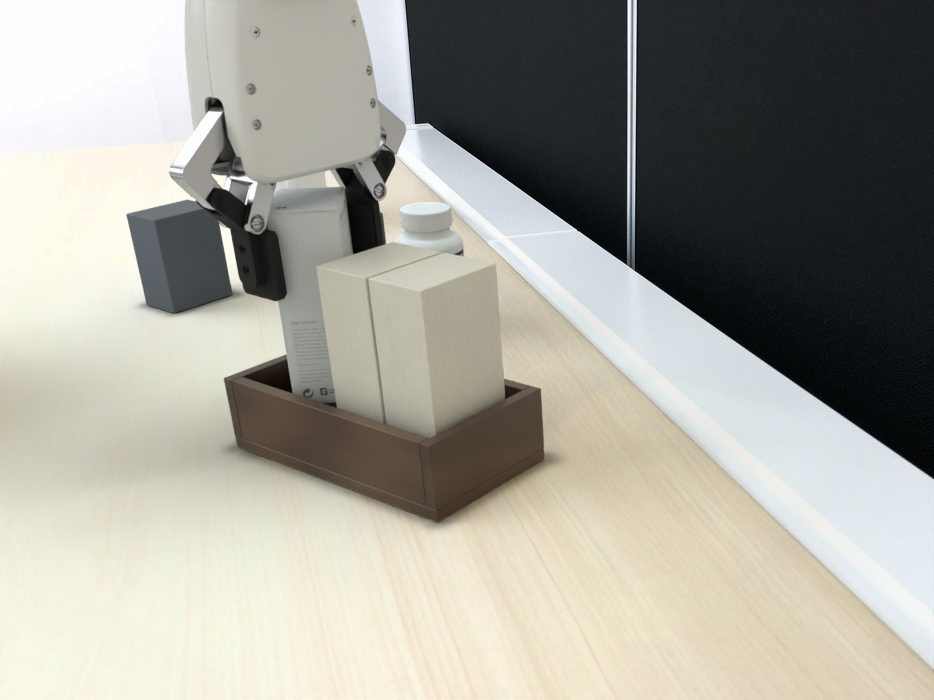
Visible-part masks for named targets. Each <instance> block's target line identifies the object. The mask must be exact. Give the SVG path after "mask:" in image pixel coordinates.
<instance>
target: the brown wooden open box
mask: <svg viewBox="0 0 934 700" xmlns="http://www.w3.org/2000/svg"><path fill="white" fill-rule="evenodd" d="M223 383H224V387H225V392H226V397H227V398H226V399H227V402H228V408H229V413H230V417H231V423H232V428H233V432H234V436H235V442H236V447H237V448H240V449H241V450H243V451H247V452H249V453H252V454H255V455H258V456H260V457H263V458H266V459H268V460H271V461H273V462H276V463H279V464H281V465H284V466H287V467H290V468H292V469H295V470H298V471H300V472H303V473H305V474H308V475H311V476H313V477H316V478H319V479H321V480H323V481H327V482H329V483H332V484H334V485H337V486H340V487H342V488H345V489H348V490H351V491H353V492H356V493H358V494H361V495H363V496H366V497H369V498H371V499H374V500H377V501H380V502H382V503H385V504H388V505H390V506H393V507H396V508H398V509H401V510H403V511H406V512H409V513H411V514H414V515H417V516H420V517H421V518H424V519H427V520H429V521H432V522H435V523H439V522H442V521H443V520H445V519H446V518H448V517H450V516H452V515H453V514H455V513H457V512H458V511H460V510H461V509H463V508H465V507H467V506H468V505H470V504H471V503H473V502H475V501H476V500H478V499H480V498H482V497H483V496H485V495H487V494H488V493H491V492H492V491H493V490H495V489H497V488H498V487H501V486H502V485H504V484H505V483H507V482H508V481H510V480H513V478H515V477H517V476H519V475H520V474H522V473H524V472H526V471H527V470H528V469H531V468H532V467H534V466H535V465H537V464H539V463H540V462H542V461H544V460H545V459H546V458H545V457H546V456H545V438H544V418H543V401H542V400H543V399H542V389H541V388H540V387H537V386H533V385H529V384H526V383H521V382H519V381H515V380H511V379H508V378H504V386H505V400H503V401H501V402H499V403H497V404H495V405H493V406H491V407H489V408H487V409H485V410H483V411H481V412H479V413H477V414H475V415H473V416H471V417H469V418H468V419H466V420H464V421H462V422H460V423H458V424H456V425H454V426H452V427H450V428H448V429H446V430H444V431H442V432H440V433H438V434H436V435H434V436H432V437H430V438H427V437H424V436H421V435H418V434H415V433H412V432H409V431H406V430H403V429H400V428H397V427H394V426H391V425H388V424H385V423H382V422H378V421H375V420H372V419H369V418H366V417H363V416H360V415H357V414H354V413H351V412H348V411H345V410H342V409H339V408H337V405H336V403H320V402H317V401H314V400H311V399H308V398H305V397H302V396H299V395H296V394H293V391H292V385H291V379H290V373H289V367H288V361H287V354H286V353H285V354H283V355H280V356H278V357H276V358H273V359H270V360H267V361H264V362H262V363H260V364H256V365H254V366H252V367H249V368H247V369H244V370H241V371H238V372H235V373H234V374H231V375H227V376H225V377H223Z"/></svg>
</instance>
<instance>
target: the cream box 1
mask: <svg viewBox="0 0 934 700" xmlns="http://www.w3.org/2000/svg"><path fill="white" fill-rule="evenodd" d="M439 254H441V252H439V251H434V250H429V249H424V248H419V247H415V246H410V245H405V244H400V243H395V241H391V242H389V243H386V244H385V245H382V246H379V247H375V248H372V249H369V250H366V251H363V252H360V253H356V254H353V255H350V256H347V257H344V258H341V259H338V260H334V261H331V262H328V263H325V264H322V265H319V266H316V270H317V277H318V283H319V290H320V297H321V304H322V310H323V317H324V324H325V331H326V337H327V344H328V351H329V357H330V364H331V371H332V378H333V384H334V391H335V398H336V405H337V408H339V409H342V410H345V411H348V412H351V413H354V414H357V415H360V416H363V417H366V418H369V419H372V420H375V421H378V422H382V423H385V424H387V423H386V415H385V407H384V400H383V392H382V384H381V376H380V368H379V360H378V352H377V344H376V336H375V328H374V321H373V313H372V305H371V297H370V289H369V281H368V279H369V278H371V277H374V276H377V275H380V274H383V273H386V272H389V271H392V270H395V269H398V268H401V267H404V266H407V265H409V264H412V263H415V262H418V261H421V260H424V259H427V258H430V257H433V256H436V255H439Z"/></svg>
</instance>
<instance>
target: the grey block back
mask: <svg viewBox="0 0 934 700" xmlns="http://www.w3.org/2000/svg"><path fill="white" fill-rule="evenodd" d="M125 215H126V221H127V224H128V228H129V233H130V238H131V242H132V247H133V251H134V256H135V259H136V263H137V267H138V268H137V269H138V272H139V279H140V282H141V286H142V291H143V294H144V298H145V305H146V306H148V307H152V308H156V309H159V310H162V311H164V312H165V311H166V312H169V313H173V314H176V313H180V312H183V311H186V310H189V309H192V308H195V307H198V306H202V305H205V304H208V303H211V302H214V301H218V300H221V299H224V298H227V297H229V296H233V291H232V290H233V289H232V284H231V279H230V273H229V267H228V263H227V257H226V253H225V252H226V251H225V246H224V241H223V235H222V231H221V225H220V224H219V222H218V220H217V219H216V218H215V217H213V216H212V215H211V214H209V213H208V212H207V211H205V210H204V209H203V208H202V207H200V206H199V205H198V204H197V202H196V200H191V199H184V200H179V201H175V202H171V203H166V204H162V205H158V206H153V207H149V208H145V209H141V210H137V211H132V212H128V213H126V214H125Z"/></svg>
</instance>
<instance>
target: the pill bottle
mask: <svg viewBox="0 0 934 700" xmlns="http://www.w3.org/2000/svg"><path fill="white" fill-rule="evenodd" d="M399 219H400V220H399V221H400V227H401V229H403V230H404V232H403V233H401V234H399V235H398V236H397V237H396V239H395V241H394V242H395V243H400V244H405V245H410V246H415V247H419V248H424V249H429V250H434V251H439V252H441V254H442V253H449V254H453V255H458V256H463V257H465V254H464V253H465V251H464V241H463V239H462V237H461V235H460V234H459V233H458V232H456V231H454V230H452V229H451V226H452V225H453V221H454V220H453V213H452V207H451V205H450V204H448V203H446V202H439V201H422V202H421V201H419V202H414V203H408V204H405V205H403V206H401V207H400V208H399Z"/></svg>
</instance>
